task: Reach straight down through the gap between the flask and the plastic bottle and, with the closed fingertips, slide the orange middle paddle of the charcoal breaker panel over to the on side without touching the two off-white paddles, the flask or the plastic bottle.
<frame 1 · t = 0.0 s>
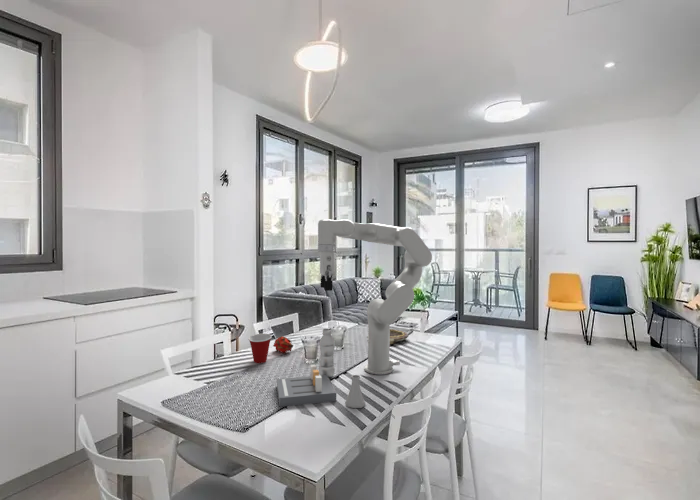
hand: (326, 288, 159), 37 cm above the table, tool pointing down, fingers open, 9 cm apart
dragon fruit: (283, 352, 191), on the table
breaker panel: (305, 393, 140), on the table
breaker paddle: (315, 377, 141), point 6 cm above the table, slide at 0.0 cm
flask: (355, 405, 131), on the table
pie: (390, 340, 217), on the table
plastic bottle: (326, 377, 157), on the table
plastic cup: (259, 362, 176), on the table
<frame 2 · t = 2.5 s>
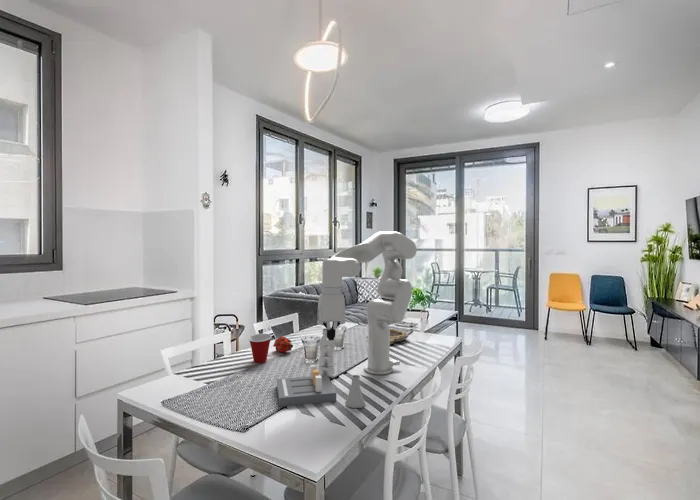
hand: (330, 339, 141), 20 cm above the table, tool pointing down, fingers closed
nothing on the table moved.
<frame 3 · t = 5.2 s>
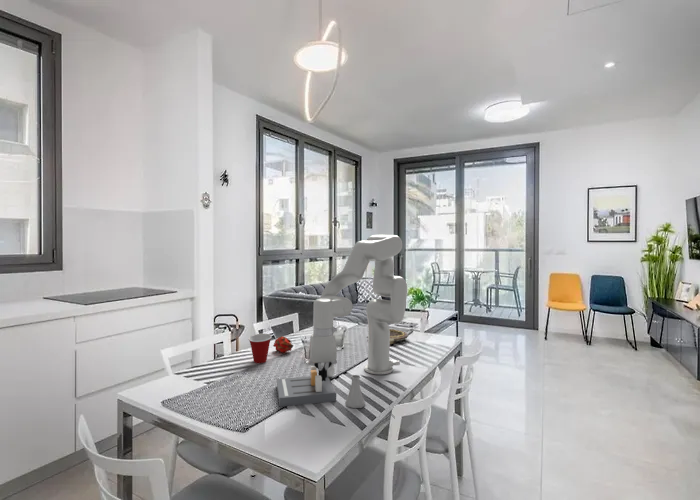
hand: (322, 379, 141), 5 cm above the table, tool pointing down, fingers closed
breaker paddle: (313, 377, 140), point 6 cm above the table, slide at 0.8 cm, touching gripper
everything else where it was.
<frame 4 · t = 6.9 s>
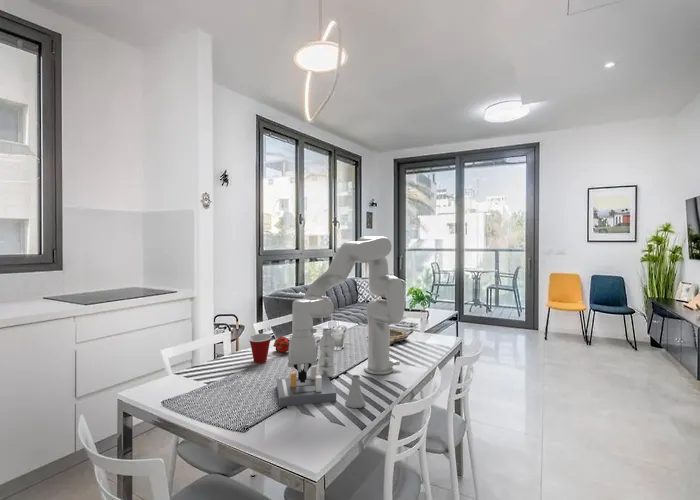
hand: (302, 381, 139), 5 cm above the table, tool pointing down, fingers closed
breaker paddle: (293, 379, 139), point 6 cm above the table, slide at 8.4 cm, touching gripper
everything else where it was.
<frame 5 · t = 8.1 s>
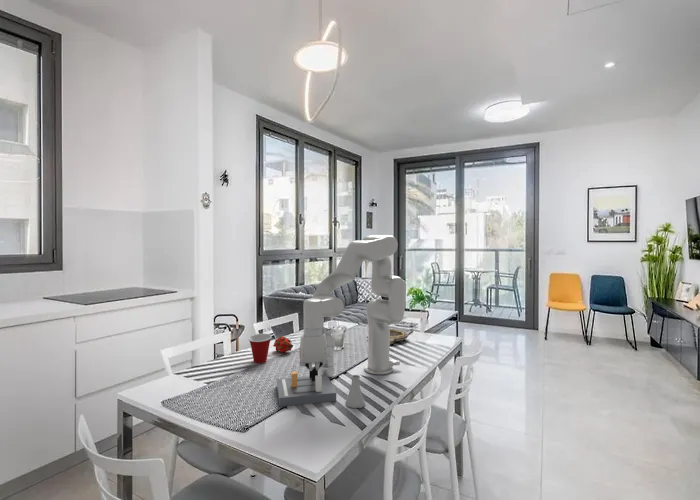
hand: (313, 379, 141), 5 cm above the table, tool pointing down, fingers closed
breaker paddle: (294, 379, 139), point 6 cm above the table, slide at 8.1 cm
everything else where it was.
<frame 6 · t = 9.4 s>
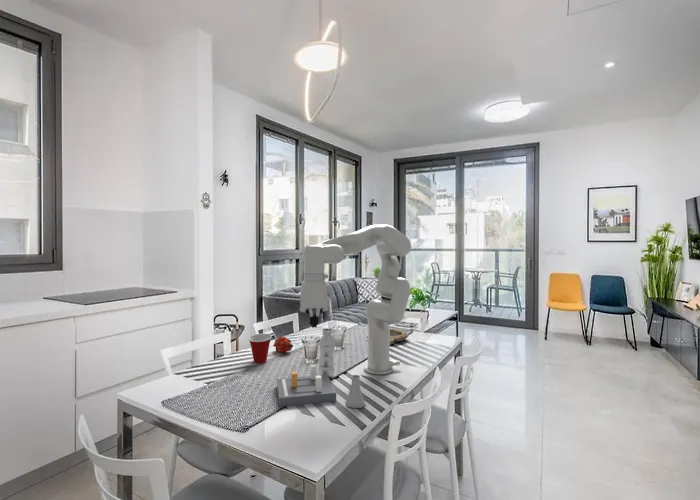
hand: (313, 326, 140), 25 cm above the table, tool pointing down, fingers closed
nothing on the table moved.
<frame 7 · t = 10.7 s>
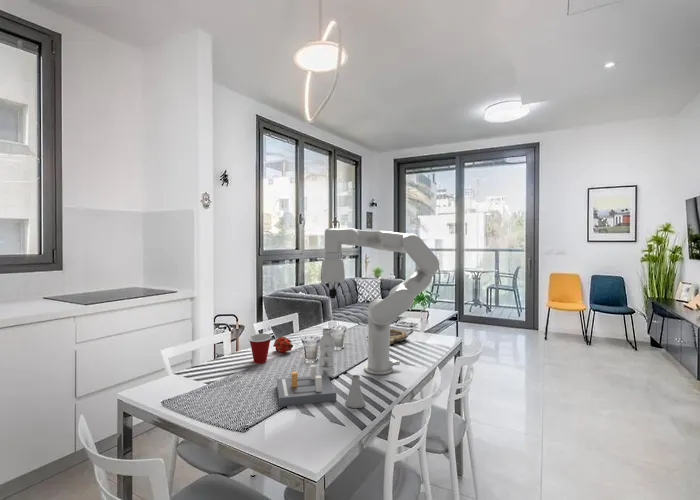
hand: (332, 297, 165), 32 cm above the table, tool pointing down, fingers closed
nothing on the table moved.
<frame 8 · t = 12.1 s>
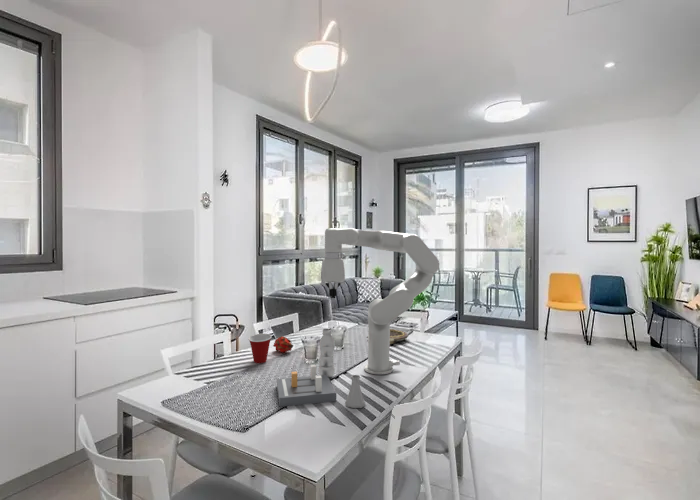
hand: (332, 297, 165), 32 cm above the table, tool pointing down, fingers closed
nothing on the table moved.
at the end: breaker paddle slide at 8.1 cm; flask moved 0.3 cm from its start; plastic bottle moved 0.2 cm from its start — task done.
